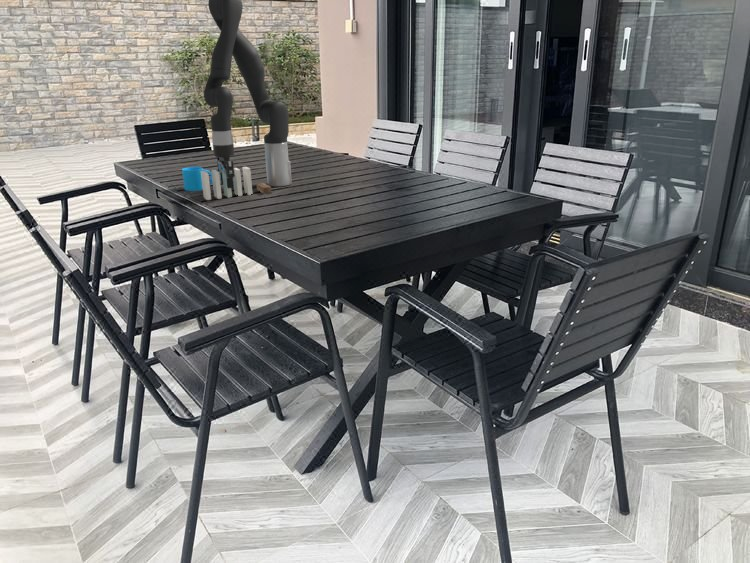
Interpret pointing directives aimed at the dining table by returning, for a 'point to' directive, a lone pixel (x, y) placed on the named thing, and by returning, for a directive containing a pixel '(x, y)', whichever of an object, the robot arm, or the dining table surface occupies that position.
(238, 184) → the domino
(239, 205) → the dining table surface
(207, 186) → the domino
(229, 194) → the domino
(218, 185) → the domino
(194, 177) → the mug
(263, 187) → the end stop
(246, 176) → the domino end
